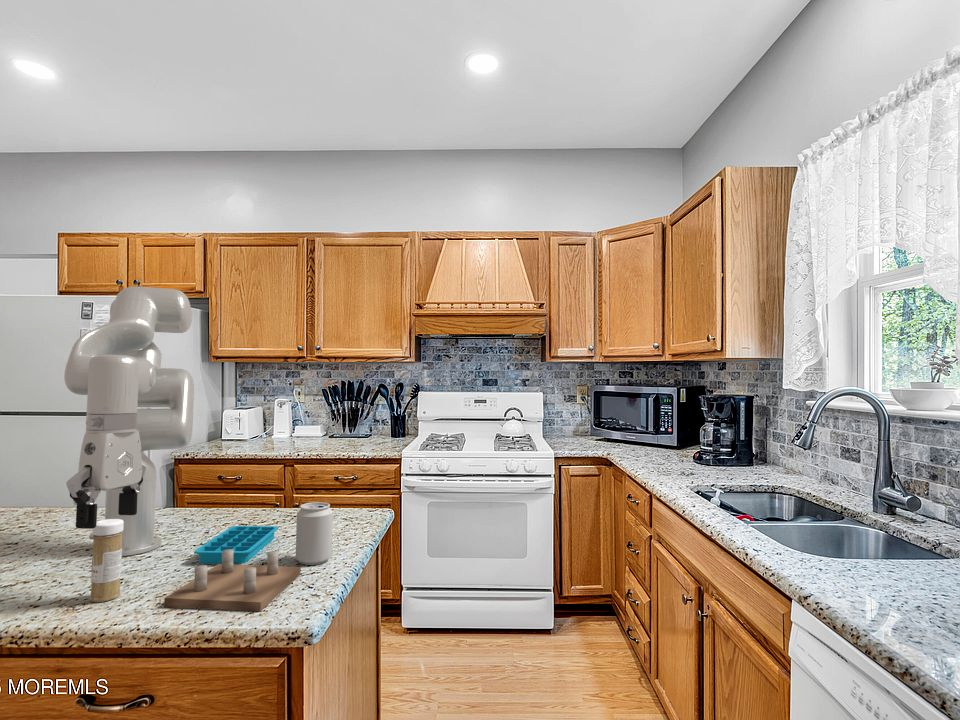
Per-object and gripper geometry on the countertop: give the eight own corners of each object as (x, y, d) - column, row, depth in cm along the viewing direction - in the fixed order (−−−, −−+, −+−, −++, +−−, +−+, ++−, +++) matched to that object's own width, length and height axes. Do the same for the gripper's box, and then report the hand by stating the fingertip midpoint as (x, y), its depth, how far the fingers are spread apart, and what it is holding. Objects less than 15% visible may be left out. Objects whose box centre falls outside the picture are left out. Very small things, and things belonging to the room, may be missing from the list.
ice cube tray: (191, 566, 112) (191, 552, 113) (232, 538, 133) (232, 525, 133) (247, 567, 113) (248, 552, 113) (279, 538, 133) (280, 526, 133)
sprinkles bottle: (86, 598, 95) (89, 521, 96) (116, 590, 99) (119, 516, 99) (94, 605, 92) (97, 526, 93) (124, 597, 96) (127, 521, 96)
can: (338, 557, 119) (339, 502, 119) (317, 568, 112) (319, 510, 112) (310, 553, 121) (311, 499, 122) (287, 563, 114) (289, 506, 115)
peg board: (164, 606, 92) (165, 574, 92) (218, 571, 109) (219, 543, 109) (260, 611, 91) (261, 578, 91) (300, 574, 108) (301, 546, 108)
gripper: (94, 427, 87) (89, 534, 86) (163, 421, 105) (160, 510, 104) (50, 426, 88) (45, 533, 87) (126, 421, 105) (122, 510, 104)
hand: (107, 521), depth 95 cm, fingers open, 9 cm apart
